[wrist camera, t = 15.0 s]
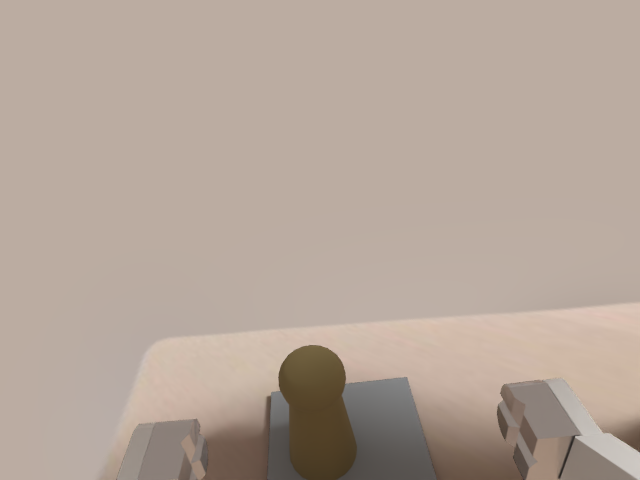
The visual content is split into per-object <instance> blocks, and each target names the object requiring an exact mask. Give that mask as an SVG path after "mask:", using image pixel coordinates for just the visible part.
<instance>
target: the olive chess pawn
mask: <svg viewBox="0 0 640 480" xmlns="http://www.w3.org/2000/svg"><path fill="white" fill-rule="evenodd" d="M278 378H279V387H280V391H281V393H282V395H283V397H284V399H285V400H286V402H287V403H288V404H289V451H290V461H291V463H292V465H293V467H294V469H295V470H296V471H297V472H298V473H299V474H300V475H301V476H302V477H303V478H305V479H307V480H337V479H338V478H340V477H342V476H344V475H345V474H346V473H347V472H348V470H349V469H350V468H351V467H352V465H353V463H354V461H355V459H356V453H357V444H356V440H355V436H354V433H353V430H352V427H351V423H350V420H349V417H348V414H347V410H346V407H345V404H344V401H343V397H342V393H343V391H344V387H345V380H346V375H345V370H344V366H343V364H342V362H341V360H340V359H339V357H338V356H337V355H336V354H335V353H334V352H332V351H331V350H329V349H328V348H325V347H322V346H317V345H309V346H304V347H301V348H299V349H296V350H294V351H293V352H292V353H290V354H289V355H288V356H287V358H286V359H285V360H284V362H283V363H282V365H281V368H280V371H279V377H278Z"/></svg>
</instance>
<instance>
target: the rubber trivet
mask: <svg viewBox="0 0 640 480" xmlns="http://www.w3.org/2000/svg"><path fill="white" fill-rule="evenodd" d="M342 397H343V401H344V404H345V407H346V410H347V414H348V417H349V420H350V423H351V427H352V430H353V433H354V436H355V440H356V444H357V453H356V459H355V461H354V463H353V465H352V467H351V468H350V469H349V470H348V472H347V473H346V474H345V475H344V476H342V477H340V478H338V479H337V480H437V478H436V474H435V471H434V468H433V464H432V461H431V457H430V454H429V451H428V447H427V444H426V440H425V437H424V433H423V430H422V427H421V423H420V420H419V416H418V413H417V410H416V406H415V403H414V399H413V396H412V393H411V389H410V386H409V382H408V379H407V377H403V378H394V379H385V380H376V381H367V382H358V383H349V384H345V387H344V391H343V393H342ZM267 480H307V479H305V478H303V477H302V476H301V475H300V474H299V473H298V472H297V471H296V470H295V469H294V467H293V465H292V463H291V461H290V451H289V404H288V403H287V402H286V400H285V399H284V397H283V395H282V393H281V391H277V392H271V412H270V432H269V452H268V471H267Z"/></svg>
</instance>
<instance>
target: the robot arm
mask: <svg viewBox="0 0 640 480" xmlns="http://www.w3.org/2000/svg"><path fill="white" fill-rule="evenodd" d="M500 394H501V396H502V398H503V401H502V402H501V403H499V404H498V410H497V416H498V424H499V427H500V430H501V433H502V435H503V437H504V439H505V441H506V442H507V443H508V444H510V445H511V446H512V447H514V448H515V451H514V456H513V459H514V461H515V463H516V465H517V467H518V469H519V471H520V473H521V475H522V477H523V479H524V480H640V452H638V451H637V450H635V449H634V448H632V447H630V446H629V445H627V444H626V443H624V442H623V441H621V440H619V439H618V438H616V437H615V436H613V435H612V434H610V433H602V431H601V430H600V428H599V427H598V426H597V424H596V423H595V421H594V420H593V418H592V417H591V416H590V414H589V413H588V411H587V410H586V409H585V407H584V406H583V404H582V403H581V401H580V400H579V399H578V397H577V396H576V394H575V393H574V392H573V390H572V389H571V387H570V386H569V384H568V383H567V382H566V381H565V380H564V379H562V378H555V379H547V380H534V381H526V382H518V383H510V384H504V385H503V386H502V388H501V393H500ZM199 431H200V424H199V422H198V420H197V419H190V420H178V421H167V422H155V423H146V424H138V426H137V427H136V429H135V430H134V432H133V434H132V437H131V440H130V443H129V445H128V448H127V451H126V454H125V457H124V459H123V462H122V465H121V468H120V470H119V473H118V476H117V479H116V480H202V478H203V477H204V476H205V475H206V470H207V464H208V448H207V443H206V440H205V437H204V436H202V435H200V434H199Z"/></svg>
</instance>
